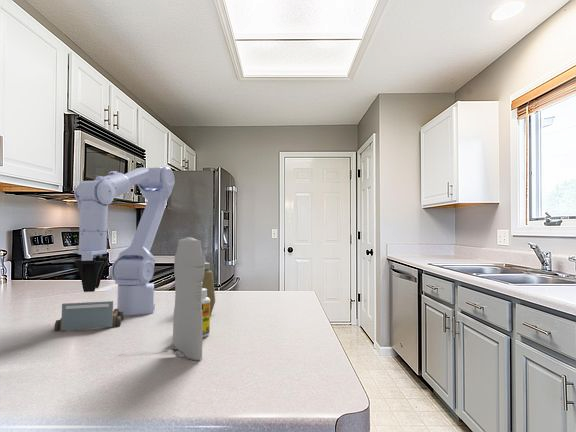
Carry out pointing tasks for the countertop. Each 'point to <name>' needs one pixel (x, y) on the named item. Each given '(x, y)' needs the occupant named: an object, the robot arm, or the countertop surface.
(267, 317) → the countertop surface
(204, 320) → the supplement bottle
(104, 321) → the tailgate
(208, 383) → the countertop surface
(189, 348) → the tall pale column
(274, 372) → the countertop surface
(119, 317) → the cart bed
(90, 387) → the countertop surface
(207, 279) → the squeeze bottle
